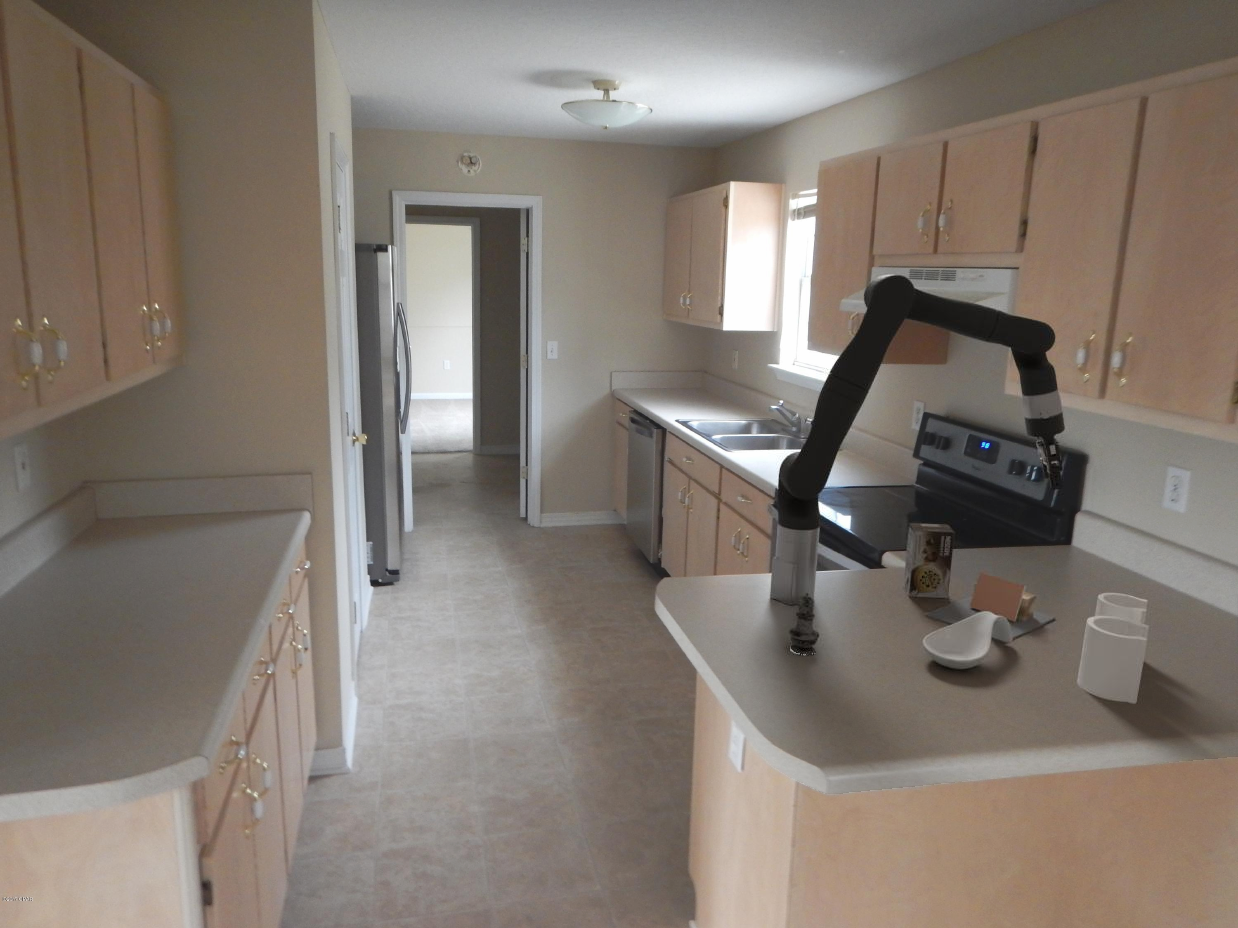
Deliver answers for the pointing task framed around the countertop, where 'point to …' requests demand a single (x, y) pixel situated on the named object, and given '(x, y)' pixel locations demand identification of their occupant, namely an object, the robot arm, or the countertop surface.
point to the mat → (963, 611)
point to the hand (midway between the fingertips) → (1053, 483)
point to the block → (1025, 606)
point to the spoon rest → (967, 640)
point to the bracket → (1114, 648)
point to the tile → (997, 596)
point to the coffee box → (928, 560)
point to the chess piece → (804, 628)
